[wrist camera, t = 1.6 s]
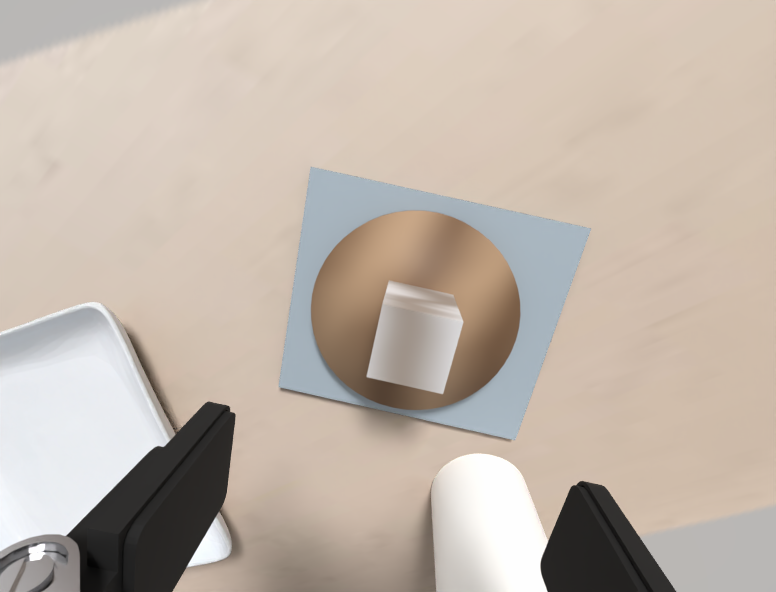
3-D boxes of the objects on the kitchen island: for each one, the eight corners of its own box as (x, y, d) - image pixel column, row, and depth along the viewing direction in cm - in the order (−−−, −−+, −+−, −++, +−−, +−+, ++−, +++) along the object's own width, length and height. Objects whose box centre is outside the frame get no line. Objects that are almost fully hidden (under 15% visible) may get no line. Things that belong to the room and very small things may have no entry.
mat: (587, 227, 23) (591, 228, 22) (513, 435, 27) (515, 440, 27) (312, 167, 23) (310, 166, 23) (280, 383, 27) (278, 387, 27)
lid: (543, 236, 23) (588, 251, 17) (484, 420, 26) (503, 484, 21) (332, 189, 23) (305, 188, 17) (301, 379, 26) (270, 431, 21)
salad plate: (43, 566, 34) (4, 606, 31) (-98, 358, 29) (-164, 380, 26) (254, 523, 31) (235, 562, 28) (137, 283, 26) (97, 296, 23)
